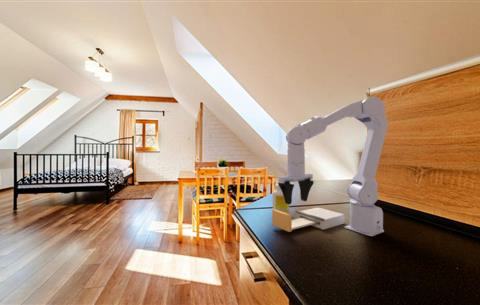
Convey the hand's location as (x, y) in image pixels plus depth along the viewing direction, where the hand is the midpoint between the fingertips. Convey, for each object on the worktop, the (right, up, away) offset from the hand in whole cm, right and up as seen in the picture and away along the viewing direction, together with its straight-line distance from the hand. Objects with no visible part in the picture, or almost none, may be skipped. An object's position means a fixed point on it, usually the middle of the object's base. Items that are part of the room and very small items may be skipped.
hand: (296, 202), depth 80 cm
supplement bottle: (-3, -9, +16) cm, 18 cm away
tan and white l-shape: (+1, -8, +2) cm, 8 cm away
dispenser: (+11, -9, +8) cm, 16 cm away
